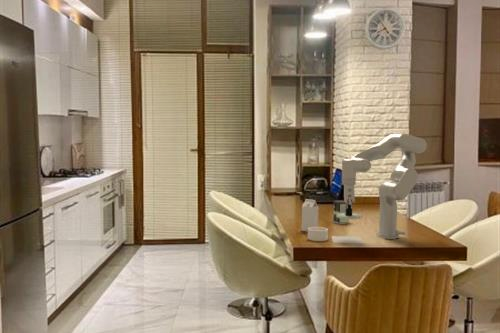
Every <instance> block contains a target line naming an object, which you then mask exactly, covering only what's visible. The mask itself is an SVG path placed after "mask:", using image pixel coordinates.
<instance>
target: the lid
mask: <svg viewBox="0 0 500 333" xmlns="http://www.w3.org/2000/svg"><path fill="white" fill-rule="evenodd" d="M346 208H347V207H346ZM346 208H345V213H340V214H337V218H341V219H349V220H358V219H361V218H362V216H361V214H359V213H353V212H352V216H346Z"/></svg>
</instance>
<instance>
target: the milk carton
mask: <svg viewBox="0 0 500 333" xmlns="http://www.w3.org/2000/svg"><path fill="white" fill-rule="evenodd" d="M309 227H319V205H318V204H317V202H316V199H310V198H309V199H308V198H305V199H304V202H303V203H302V206H301V231H302V232H307V233H308V228H309Z"/></svg>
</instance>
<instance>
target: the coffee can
mask: <svg viewBox="0 0 500 333" xmlns="http://www.w3.org/2000/svg"><path fill="white" fill-rule="evenodd" d="M345 207H346V202H345V200H343V199H336V200H333V211H332V212H333V217H332V222H333V223H334V224H338V225H346V224H349V223H350V222H349V220H350V219H341V218H337V214H340V213H345Z"/></svg>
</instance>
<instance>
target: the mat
mask: <svg viewBox="0 0 500 333" xmlns="http://www.w3.org/2000/svg"><path fill="white" fill-rule="evenodd" d="M331 239H332V243H334V244H335V243H337V244H338V243H339V244H361V245H363V244H364V242H363V240H362V238H361V237H360V236H341V235H340V236H336V235H335V236H334V235H332V236H331Z"/></svg>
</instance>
